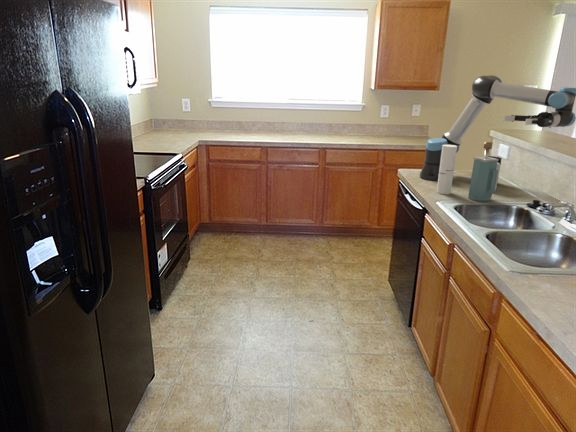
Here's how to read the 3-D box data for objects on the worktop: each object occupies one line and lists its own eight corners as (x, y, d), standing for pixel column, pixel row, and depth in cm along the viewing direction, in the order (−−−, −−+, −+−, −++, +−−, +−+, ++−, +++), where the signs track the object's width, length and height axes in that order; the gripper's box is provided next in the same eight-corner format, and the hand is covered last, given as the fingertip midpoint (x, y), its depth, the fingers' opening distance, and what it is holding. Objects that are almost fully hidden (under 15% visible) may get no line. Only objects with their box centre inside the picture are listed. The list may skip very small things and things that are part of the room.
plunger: (469, 190, 223) (477, 141, 215) (481, 189, 225) (488, 140, 217) (479, 194, 216) (488, 143, 208) (491, 192, 218) (499, 143, 211)
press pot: (463, 197, 225) (469, 156, 218) (479, 195, 228) (486, 155, 222) (482, 204, 213) (489, 161, 206) (499, 202, 217) (506, 160, 210)
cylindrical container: (451, 194, 229) (458, 147, 221) (437, 193, 230) (443, 146, 222) (449, 191, 236) (455, 145, 228) (435, 190, 237) (441, 144, 229)
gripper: (567, 130, 210) (534, 131, 204) (525, 123, 232) (494, 124, 226) (571, 114, 208) (537, 115, 201) (528, 109, 230) (496, 109, 223)
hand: (514, 120), depth 213 cm, fingers open, 13 cm apart
